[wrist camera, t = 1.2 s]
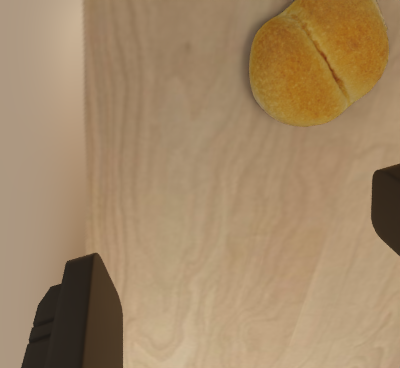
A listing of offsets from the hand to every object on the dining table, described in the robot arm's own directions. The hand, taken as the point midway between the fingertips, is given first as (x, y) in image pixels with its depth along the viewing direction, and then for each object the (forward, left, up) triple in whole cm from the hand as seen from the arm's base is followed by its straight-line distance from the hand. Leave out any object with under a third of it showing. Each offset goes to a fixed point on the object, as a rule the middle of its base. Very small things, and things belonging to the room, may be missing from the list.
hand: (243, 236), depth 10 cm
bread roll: (+6, +7, -16) cm, 19 cm away
